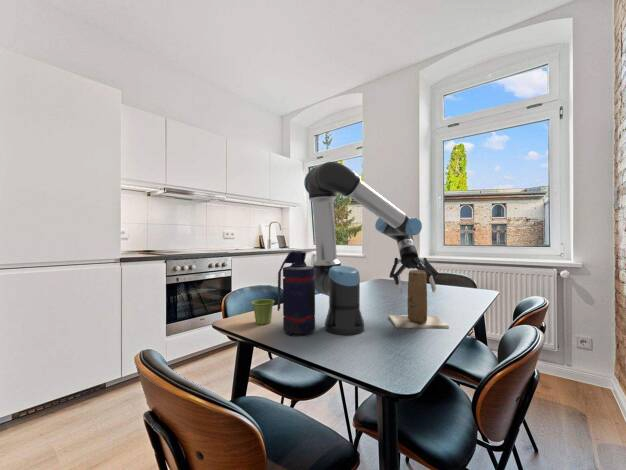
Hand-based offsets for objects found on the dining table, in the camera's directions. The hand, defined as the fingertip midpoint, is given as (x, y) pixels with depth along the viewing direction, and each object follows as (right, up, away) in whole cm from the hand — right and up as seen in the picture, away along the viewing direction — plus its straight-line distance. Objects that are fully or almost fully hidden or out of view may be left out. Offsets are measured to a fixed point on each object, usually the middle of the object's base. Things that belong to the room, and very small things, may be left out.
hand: (417, 290), depth 123 cm
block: (0, -12, +1) cm, 12 cm away
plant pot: (-63, -14, +2) cm, 64 cm away
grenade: (-48, -14, -10) cm, 51 cm away
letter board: (0, -13, +1) cm, 13 cm away
